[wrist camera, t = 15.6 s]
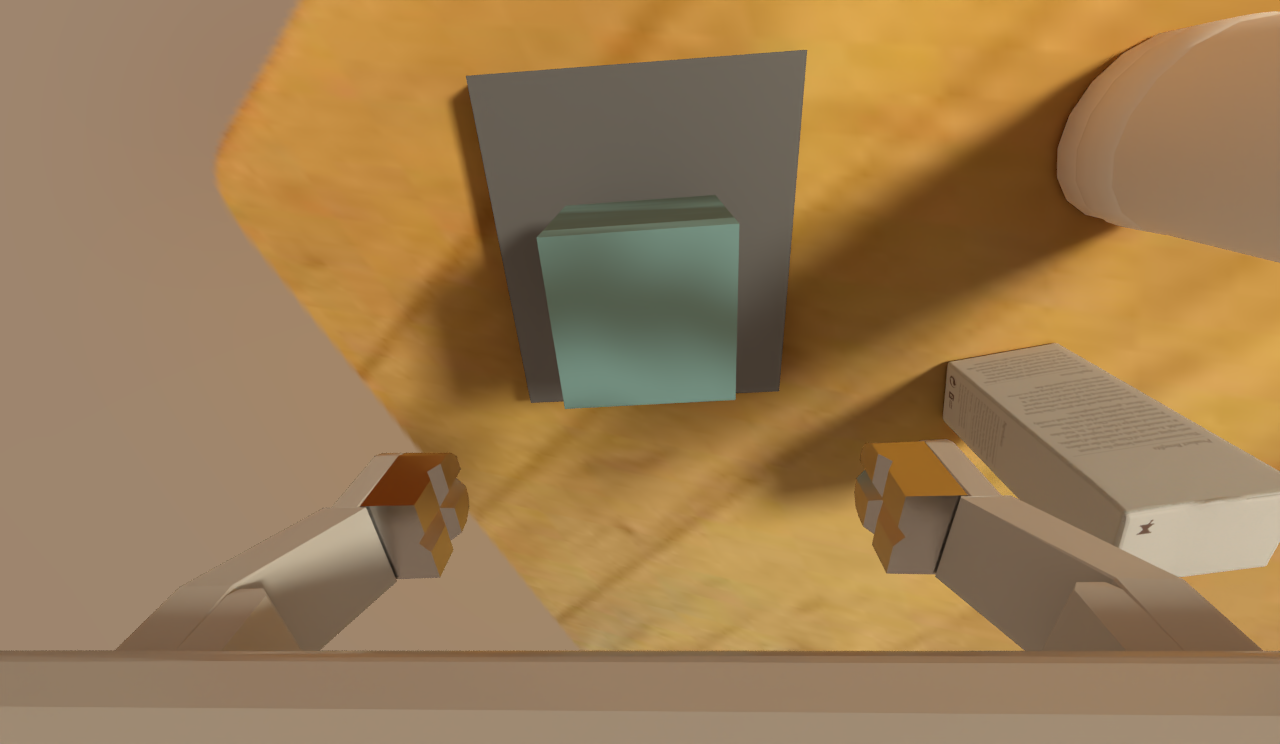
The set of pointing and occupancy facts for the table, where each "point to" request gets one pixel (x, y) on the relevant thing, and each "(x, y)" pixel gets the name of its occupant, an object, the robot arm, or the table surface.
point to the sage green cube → (643, 301)
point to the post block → (647, 175)
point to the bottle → (1185, 137)
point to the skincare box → (1114, 461)
